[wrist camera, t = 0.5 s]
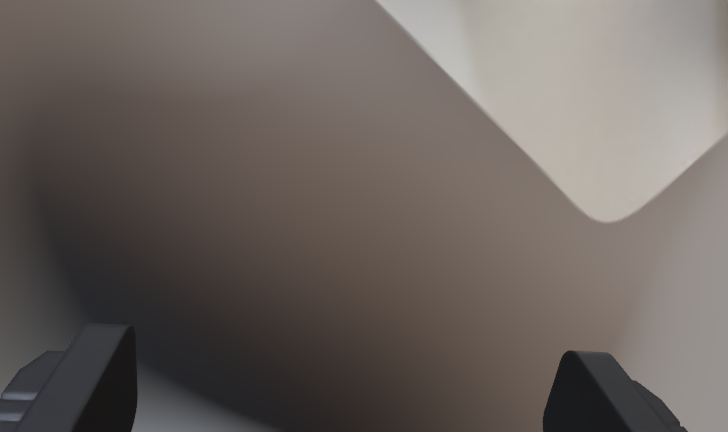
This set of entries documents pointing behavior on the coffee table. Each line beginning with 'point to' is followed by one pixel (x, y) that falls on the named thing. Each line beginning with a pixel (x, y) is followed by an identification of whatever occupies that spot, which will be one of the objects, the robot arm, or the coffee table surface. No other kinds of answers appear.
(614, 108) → the coffee table surface
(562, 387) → the robot arm
